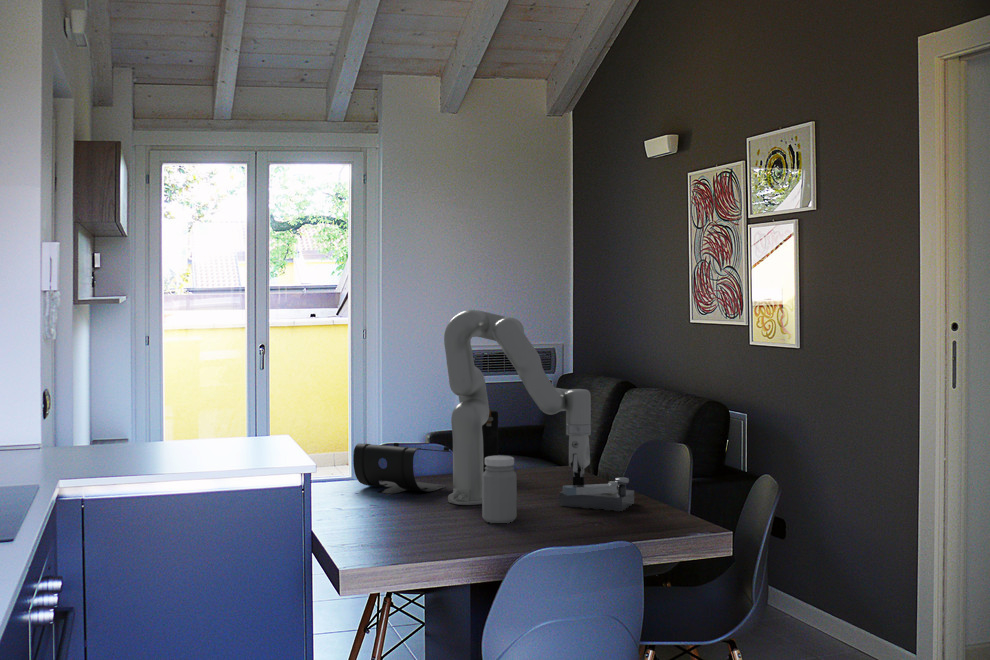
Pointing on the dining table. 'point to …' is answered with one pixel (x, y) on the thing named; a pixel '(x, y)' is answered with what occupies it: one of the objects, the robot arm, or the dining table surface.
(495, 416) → the voltmeter
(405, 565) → the dining table surface
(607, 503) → the chassis
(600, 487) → the swing arm
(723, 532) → the dining table surface
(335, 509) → the dining table surface
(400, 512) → the dining table surface
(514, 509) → the jar
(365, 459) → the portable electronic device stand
